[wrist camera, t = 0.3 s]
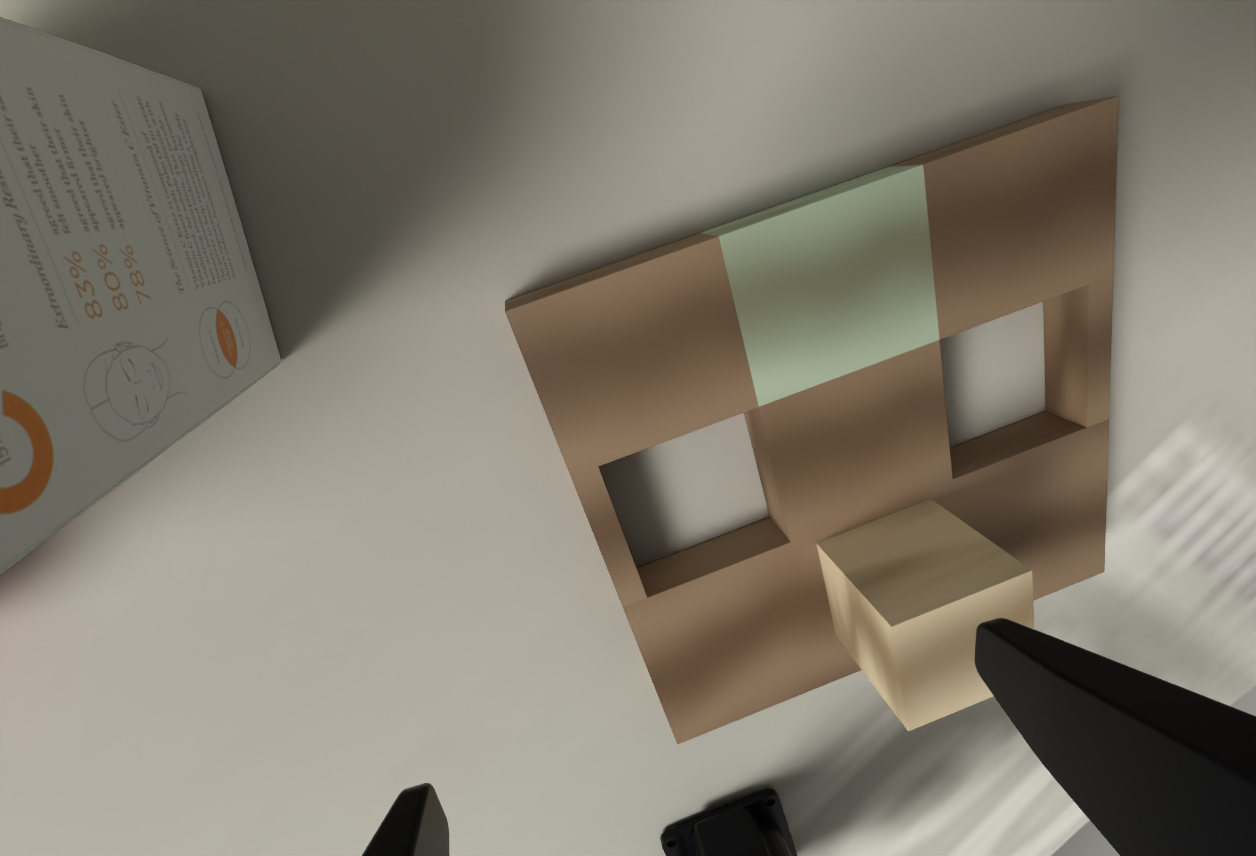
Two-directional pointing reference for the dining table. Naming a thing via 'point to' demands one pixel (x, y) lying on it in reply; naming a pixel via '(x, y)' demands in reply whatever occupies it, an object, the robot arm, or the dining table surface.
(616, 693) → the dining table surface
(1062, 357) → the trap board
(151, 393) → the small box
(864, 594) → the maple block
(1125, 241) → the dining table surface
